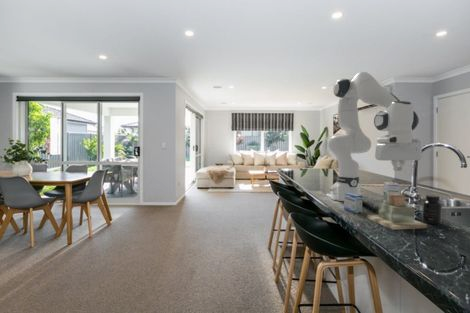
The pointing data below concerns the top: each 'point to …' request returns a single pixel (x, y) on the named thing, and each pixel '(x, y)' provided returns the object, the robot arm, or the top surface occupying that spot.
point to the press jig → (396, 217)
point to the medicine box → (353, 202)
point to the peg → (396, 200)
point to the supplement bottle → (432, 210)
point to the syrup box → (390, 190)
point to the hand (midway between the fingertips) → (397, 170)
